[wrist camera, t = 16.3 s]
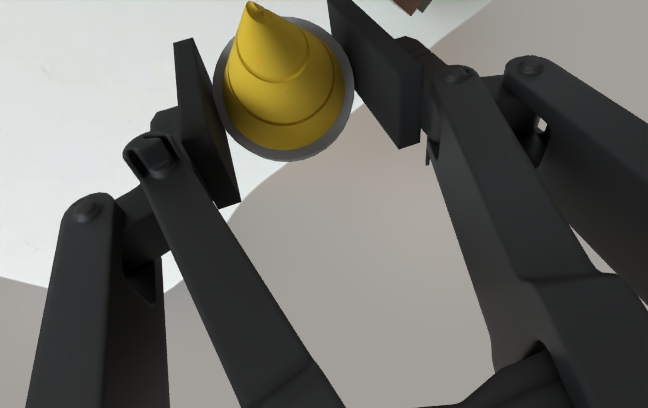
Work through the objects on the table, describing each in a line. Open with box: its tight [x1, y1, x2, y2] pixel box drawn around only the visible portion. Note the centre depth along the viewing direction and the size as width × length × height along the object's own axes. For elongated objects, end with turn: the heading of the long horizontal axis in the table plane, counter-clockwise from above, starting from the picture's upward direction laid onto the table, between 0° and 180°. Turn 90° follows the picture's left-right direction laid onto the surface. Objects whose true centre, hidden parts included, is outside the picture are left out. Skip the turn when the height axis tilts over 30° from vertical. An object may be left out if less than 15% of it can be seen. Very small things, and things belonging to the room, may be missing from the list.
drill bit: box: [212, 1, 354, 162], centre depth 13 cm, size 5×5×10 cm
